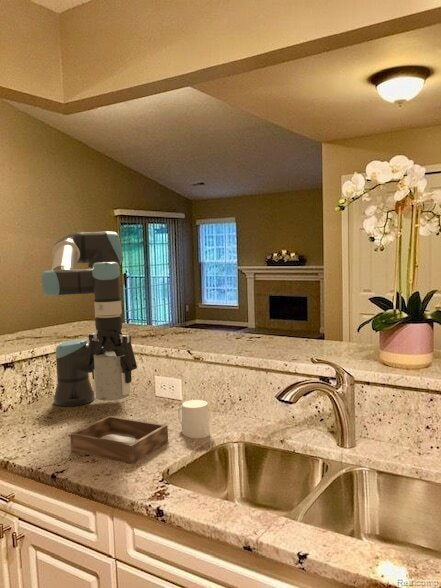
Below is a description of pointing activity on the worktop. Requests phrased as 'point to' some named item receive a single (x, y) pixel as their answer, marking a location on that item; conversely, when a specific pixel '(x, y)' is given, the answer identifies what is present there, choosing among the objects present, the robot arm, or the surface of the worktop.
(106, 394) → the grey speckled cylinder
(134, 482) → the worktop surface
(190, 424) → the mug
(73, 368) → the robot arm
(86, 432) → the box
